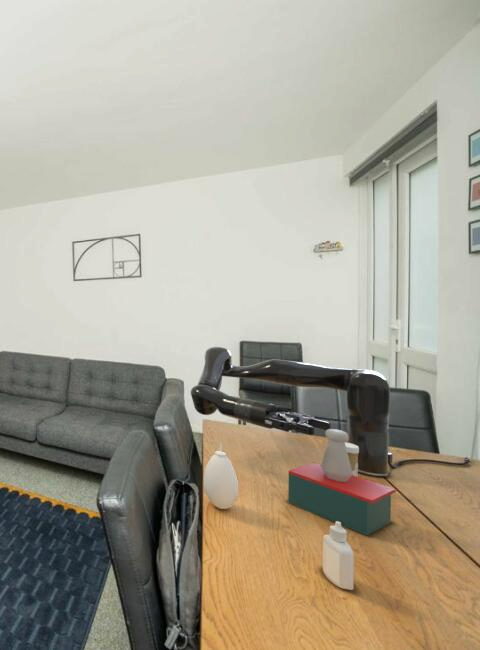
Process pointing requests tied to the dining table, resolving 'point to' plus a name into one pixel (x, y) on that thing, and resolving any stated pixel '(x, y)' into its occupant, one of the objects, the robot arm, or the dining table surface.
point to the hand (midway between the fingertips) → (322, 429)
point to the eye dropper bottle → (338, 558)
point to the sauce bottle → (220, 481)
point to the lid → (344, 483)
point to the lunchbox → (339, 505)
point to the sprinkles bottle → (353, 457)
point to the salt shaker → (336, 456)
